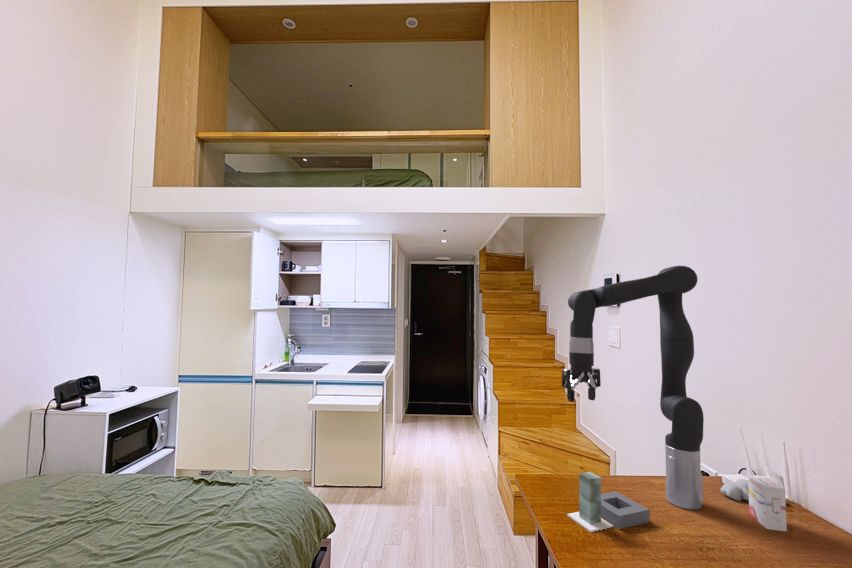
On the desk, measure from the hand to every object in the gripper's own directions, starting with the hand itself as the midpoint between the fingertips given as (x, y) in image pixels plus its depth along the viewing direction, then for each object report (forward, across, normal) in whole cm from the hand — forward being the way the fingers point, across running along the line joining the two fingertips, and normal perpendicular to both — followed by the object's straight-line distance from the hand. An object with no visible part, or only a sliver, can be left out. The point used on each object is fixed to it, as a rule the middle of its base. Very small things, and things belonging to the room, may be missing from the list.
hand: (581, 400), depth 125 cm
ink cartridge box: (+30, -40, +30) cm, 58 cm away
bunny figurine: (+30, -53, +18) cm, 63 cm away
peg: (+30, +9, +13) cm, 34 cm away
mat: (+30, +10, +13) cm, 34 cm away
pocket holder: (+30, -1, +13) cm, 33 cm away
